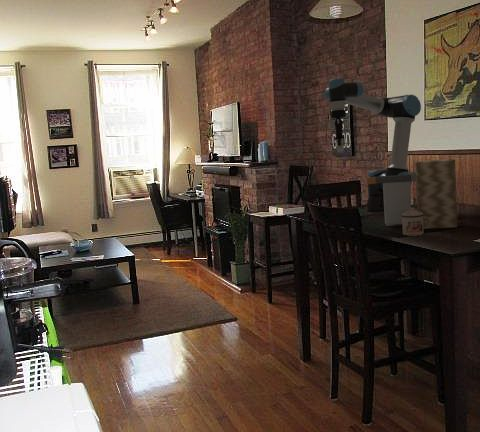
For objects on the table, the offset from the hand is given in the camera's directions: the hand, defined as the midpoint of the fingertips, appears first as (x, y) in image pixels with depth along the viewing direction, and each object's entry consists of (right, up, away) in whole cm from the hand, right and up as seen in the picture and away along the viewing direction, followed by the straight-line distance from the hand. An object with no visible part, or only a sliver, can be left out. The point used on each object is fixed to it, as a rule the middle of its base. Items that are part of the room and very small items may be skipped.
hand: (340, 151), depth 268 cm
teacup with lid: (+25, -41, -41) cm, 63 cm away
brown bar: (+22, -17, -16) cm, 32 cm away
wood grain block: (+39, -38, -29) cm, 61 cm away
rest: (+26, -37, -13) cm, 47 cm away
